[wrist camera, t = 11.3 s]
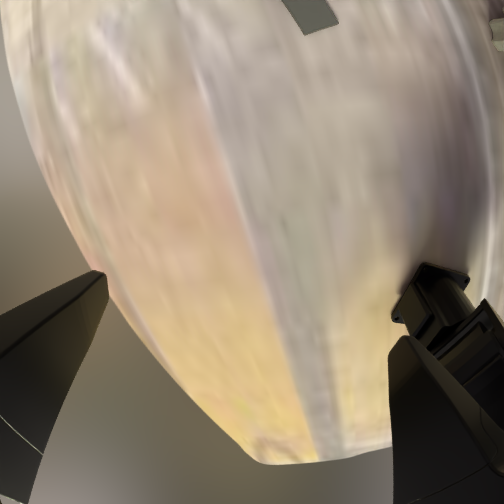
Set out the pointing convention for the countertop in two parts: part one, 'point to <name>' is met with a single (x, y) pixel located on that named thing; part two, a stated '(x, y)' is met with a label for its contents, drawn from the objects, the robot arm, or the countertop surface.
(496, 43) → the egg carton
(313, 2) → the strip
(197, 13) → the countertop surface
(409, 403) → the robot arm
